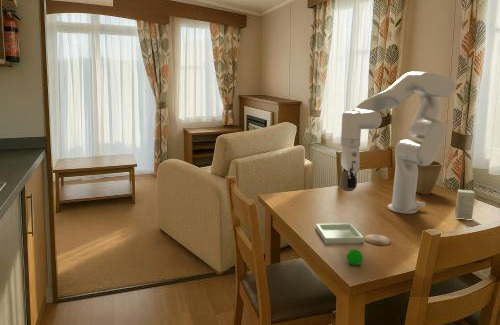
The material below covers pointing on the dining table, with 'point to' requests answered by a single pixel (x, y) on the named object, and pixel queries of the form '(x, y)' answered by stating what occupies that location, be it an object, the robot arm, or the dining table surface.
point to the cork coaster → (377, 239)
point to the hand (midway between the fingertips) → (348, 184)
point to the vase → (346, 181)
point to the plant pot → (427, 177)
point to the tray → (339, 233)
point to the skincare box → (464, 204)
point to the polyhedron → (354, 257)
